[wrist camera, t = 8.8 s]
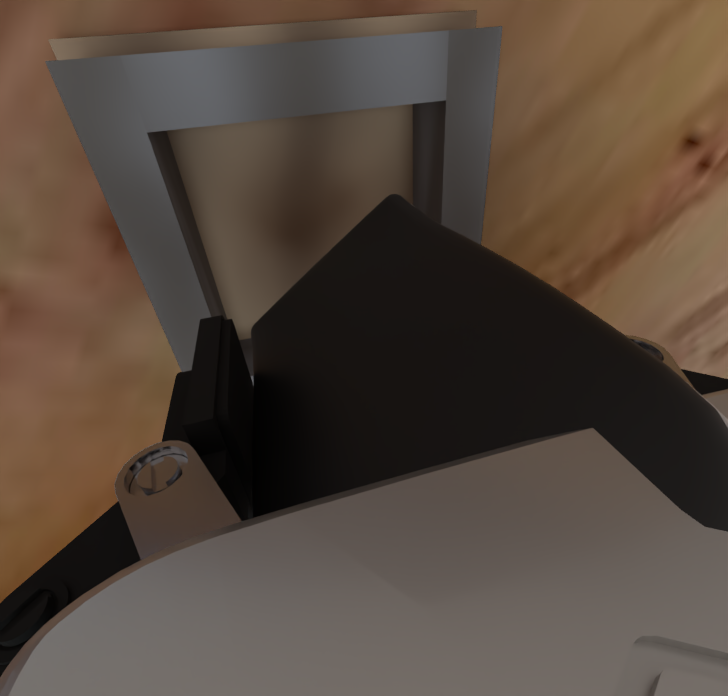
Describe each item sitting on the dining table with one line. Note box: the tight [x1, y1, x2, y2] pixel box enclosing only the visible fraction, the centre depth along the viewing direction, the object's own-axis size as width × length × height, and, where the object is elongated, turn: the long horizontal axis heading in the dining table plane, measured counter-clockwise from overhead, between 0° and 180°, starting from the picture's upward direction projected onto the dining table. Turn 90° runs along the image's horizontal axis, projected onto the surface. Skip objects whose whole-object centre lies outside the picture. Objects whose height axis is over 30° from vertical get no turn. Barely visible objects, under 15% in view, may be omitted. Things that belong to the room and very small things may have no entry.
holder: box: [45, 10, 502, 386], centre depth 18 cm, size 16×16×5 cm
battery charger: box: [251, 194, 728, 532], centre depth 9 cm, size 7×4×11 cm, turn 130°
